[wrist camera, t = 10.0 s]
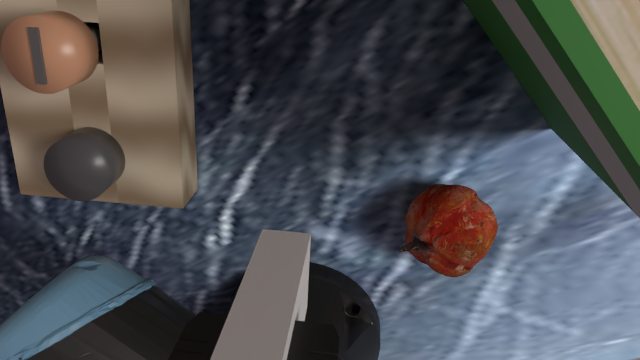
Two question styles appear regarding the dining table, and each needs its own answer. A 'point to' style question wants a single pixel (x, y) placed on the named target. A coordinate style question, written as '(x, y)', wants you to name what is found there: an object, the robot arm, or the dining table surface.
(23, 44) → the orange knob middle
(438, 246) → the pomegranate
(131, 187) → the mount
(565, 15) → the hardback book
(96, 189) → the black knob
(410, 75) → the dining table surface
